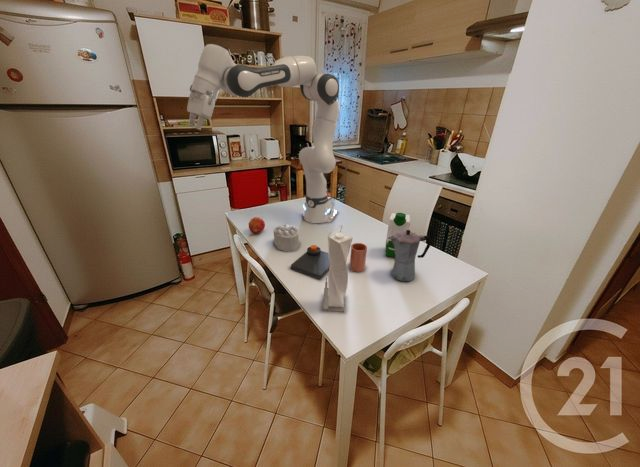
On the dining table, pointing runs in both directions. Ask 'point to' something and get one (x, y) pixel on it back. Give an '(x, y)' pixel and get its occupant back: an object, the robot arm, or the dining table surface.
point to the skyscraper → (337, 272)
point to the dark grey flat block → (313, 263)
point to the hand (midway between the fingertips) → (194, 127)
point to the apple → (256, 225)
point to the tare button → (313, 248)
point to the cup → (358, 257)
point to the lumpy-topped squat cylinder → (286, 237)
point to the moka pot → (407, 254)
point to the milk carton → (396, 230)
